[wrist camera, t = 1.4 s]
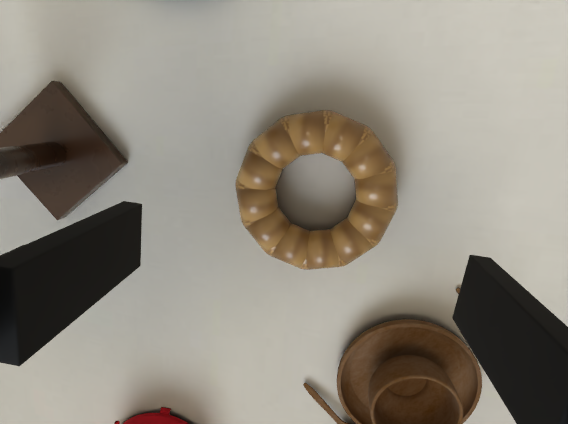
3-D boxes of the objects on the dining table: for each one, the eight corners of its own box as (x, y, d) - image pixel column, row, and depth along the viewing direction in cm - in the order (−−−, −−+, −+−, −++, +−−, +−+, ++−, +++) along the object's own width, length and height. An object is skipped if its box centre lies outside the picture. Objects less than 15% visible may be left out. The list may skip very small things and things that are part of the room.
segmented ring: (212, 174, 31) (200, 181, 28) (332, 77, 28) (334, 74, 25) (301, 285, 33) (299, 302, 30) (423, 205, 30) (433, 215, 27)
